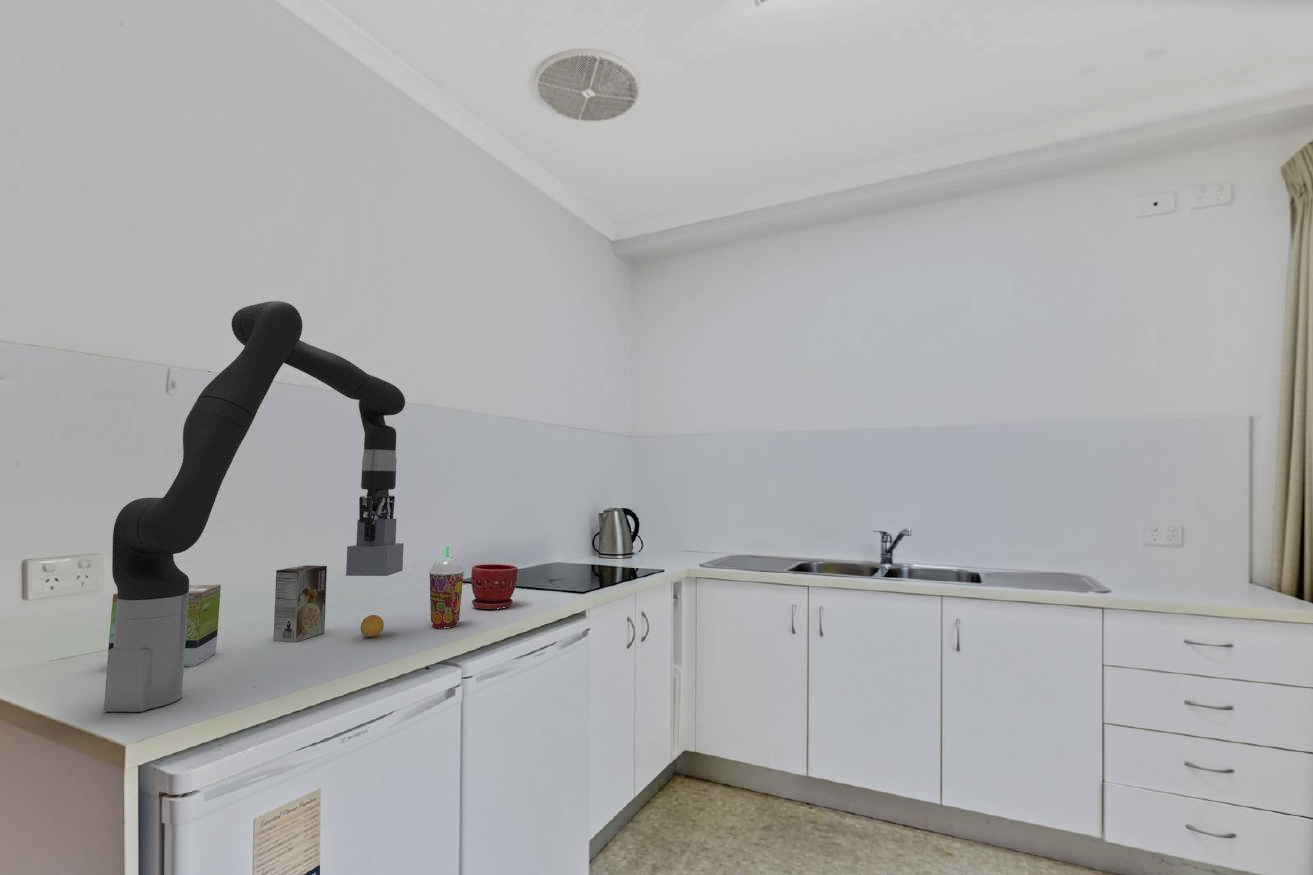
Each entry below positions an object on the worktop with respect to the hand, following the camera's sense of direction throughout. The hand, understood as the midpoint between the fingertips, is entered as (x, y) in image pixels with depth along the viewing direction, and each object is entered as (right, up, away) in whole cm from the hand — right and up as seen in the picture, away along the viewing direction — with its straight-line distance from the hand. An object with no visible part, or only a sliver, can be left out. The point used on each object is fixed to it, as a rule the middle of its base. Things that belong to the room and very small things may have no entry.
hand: (376, 539), depth 147 cm
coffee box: (-17, -23, -2) cm, 28 cm away
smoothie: (+13, -24, +10) cm, 29 cm away
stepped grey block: (0, -8, -1) cm, 8 cm away
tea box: (-32, -21, -23) cm, 45 cm away
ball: (0, -20, -1) cm, 20 cm away
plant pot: (+19, -26, +35) cm, 47 cm away
